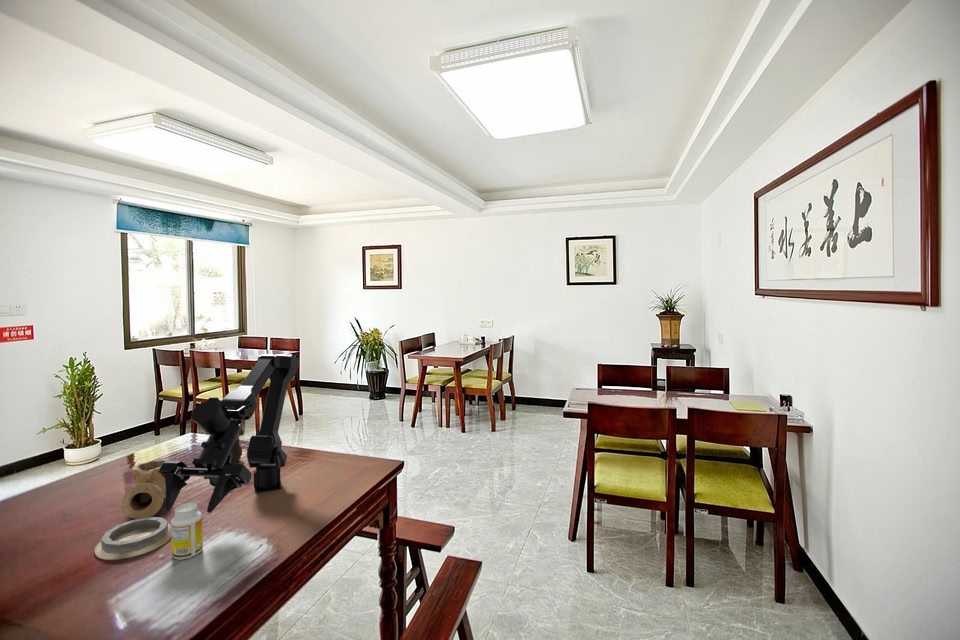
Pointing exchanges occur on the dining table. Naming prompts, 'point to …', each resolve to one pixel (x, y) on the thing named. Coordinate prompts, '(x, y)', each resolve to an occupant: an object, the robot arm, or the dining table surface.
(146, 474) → the pipe
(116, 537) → the holder ring
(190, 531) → the supplement bottle
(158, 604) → the dining table surface
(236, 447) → the mate gourd
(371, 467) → the dining table surface
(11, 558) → the dining table surface
